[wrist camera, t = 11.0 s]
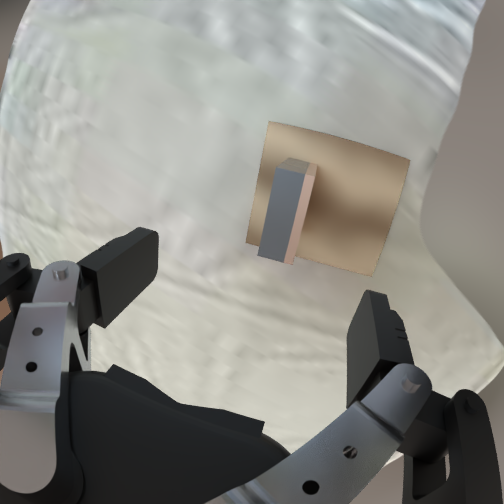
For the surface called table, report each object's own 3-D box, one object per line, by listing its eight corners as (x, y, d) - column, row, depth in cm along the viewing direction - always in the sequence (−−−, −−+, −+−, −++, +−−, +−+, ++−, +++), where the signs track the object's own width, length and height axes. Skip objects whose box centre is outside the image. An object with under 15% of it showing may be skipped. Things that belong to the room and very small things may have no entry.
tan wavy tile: (270, 121, 23) (268, 121, 22) (407, 159, 21) (410, 160, 20) (247, 239, 28) (245, 242, 27) (370, 272, 26) (371, 276, 25)
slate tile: (288, 157, 23) (276, 167, 17) (317, 164, 23) (315, 176, 17) (274, 224, 26) (257, 255, 20) (301, 231, 25) (292, 265, 19)
